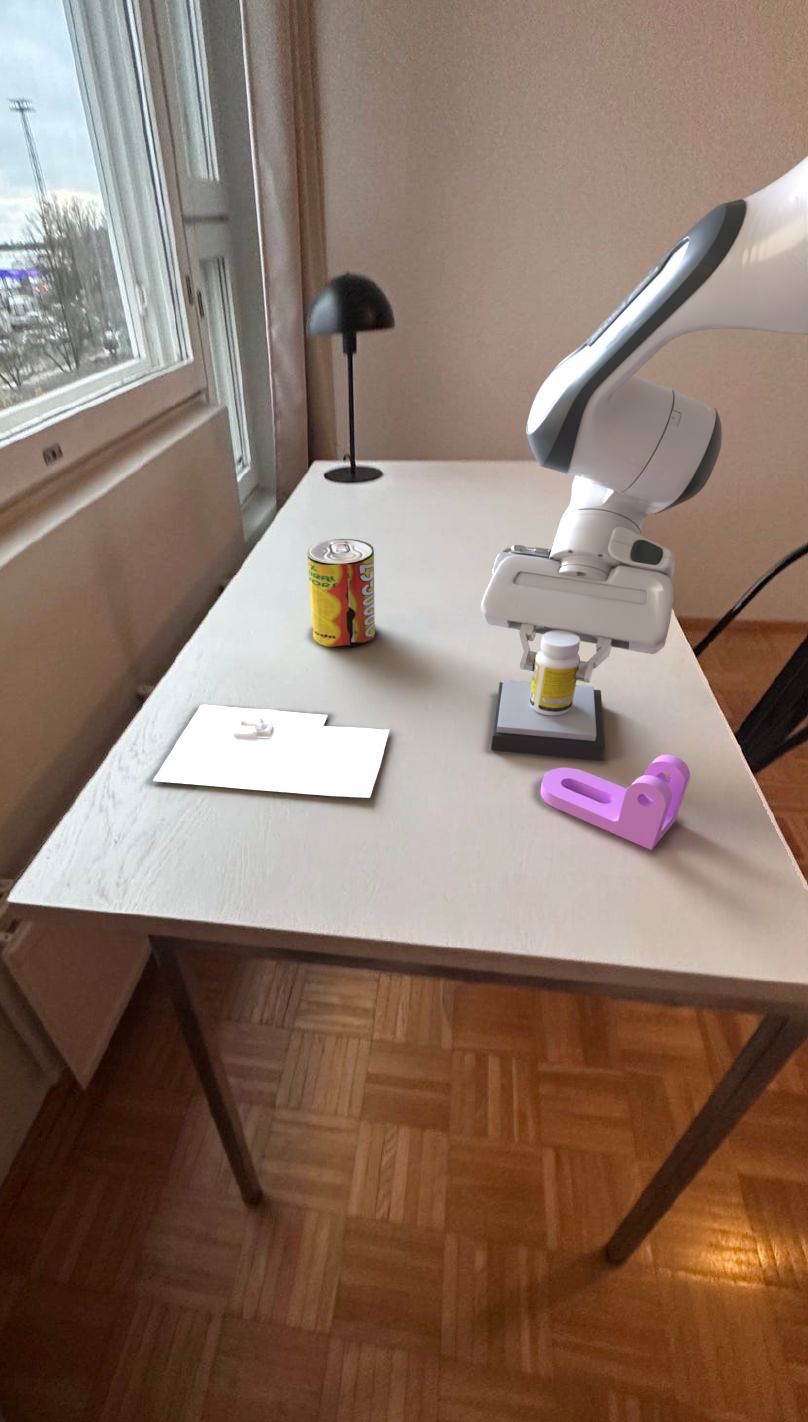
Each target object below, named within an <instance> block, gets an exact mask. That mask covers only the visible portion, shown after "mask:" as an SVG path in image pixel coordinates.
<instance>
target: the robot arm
mask: <svg viewBox="0 0 808 1422" xmlns="http://www.w3.org/2000/svg"><path fill="white" fill-rule="evenodd" d="M722 329H723V330H727V329H729V330H732V329H733V330H751V331H752V330H753V331H765V332H772V333H780V334H786V335H794V336H795V335H796V336H808V155H807V156H806V157H805V158H804V159H802V160H801V161H800V162H799V163H798V164H796V165H795V166H794V167H793V168H791V169H790V170H789V171H787V172H786V173H785V174H783V175H782V176H781V177H779V178H777V179H776V180H775V181H773V182H772V183H770V184H768V185H767V186H765V187H763V188H761V189H760V190H758V191H756V192H754V193H752V194H751V195H749V196H746V197H745V198H744V197H743V198H741V199H740V198H739V199H736V200H732V201H728V202H725V203H724V202H723V203H720V204H718V205H717V206H715V207H714V208H713V209H711V210H709V212H708V213H707V214H705V215H704V216H703V217H702V218H701V219H699V220H698V221H697V222H696V223H695V224H694V225H693V226H692V227H691V228H690V229H689V230H688V231H687V232H685V234H684V235H682V237H681V238H680V239H679V240H678V241H677V242H676V243H675V244H674V245H673V246H672V247H671V248H670V249H669V250H668V251H667V252H666V253H665V254H664V255H663V257H662V258H661V259H660V260H659V261H658V262H657V263H656V264H655V265H654V266H653V267H652V268H651V270H650V271H649V272H648V273H646V275H645V276H644V277H643V278H642V279H641V280H640V281H639V282H638V284H637V285H636V286H635V287H634V288H633V289H632V290H631V292H630V293H629V294H628V295H626V297H625V298H624V299H623V300H622V301H621V302H620V304H619V305H617V307H616V308H615V309H614V310H613V311H612V312H611V313H610V315H608V316H607V317H606V319H605V320H604V321H603V322H602V323H601V324H600V325H599V326H598V328H597V329H596V330H595V331H594V332H593V333H592V334H591V335H590V336H589V337H588V338H587V340H585V341H584V342H583V343H582V344H581V345H580V346H578V348H576V349H575V350H574V351H572V352H571V353H570V354H569V355H568V356H566V357H565V358H563V360H561V361H560V362H559V363H558V364H557V365H556V366H555V367H554V369H553V370H552V371H551V373H550V374H549V375H548V377H546V379H545V380H544V382H543V383H542V384H541V386H540V388H539V389H538V392H537V393H536V395H535V397H534V400H533V403H532V405H531V408H530V411H529V415H528V418H527V422H526V426H525V434H526V438H527V441H528V444H529V446H530V449H531V451H532V454H533V457H534V458H535V460H536V461H537V463H538V465H539V466H540V468H541V467H542V468H545V469H548V470H552V471H554V472H559V473H561V474H565V475H569V474H570V475H573V476H574V477H573V481H572V484H571V497H570V502H569V504H568V506H567V508H566V509H565V511H564V512H563V514H562V516H561V518H560V522H559V525H558V528H557V531H556V534H555V537H554V540H553V544H552V547H551V548H544V547H530V546H525V545H522V544H514V545H513V544H512V546H511V547H507V548H505V549H503V550H501V551H500V552H499V553H498V554H497V555H496V558H495V561H494V565H493V568H492V571H491V572H492V577H491V579H490V581H489V584H488V586H487V587H486V590H485V593H484V595H483V598H482V599H481V604H480V611H481V614H482V616H483V618H484V620H485V622H486V623H487V624H488V625H490V626H494V627H500V628H506V629H511V630H517V631H519V632H518V634H519V635H518V636H519V639H520V642H521V646H522V650H523V652H522V655H521V658H520V662H519V667H520V670H524V671H528V672H534V666H535V658H536V655H537V653H538V651H537V652H536V651H532V650H531V647H530V644H529V642H534V641H535V638H536V635H538V634H539V635H542V636H543V635H544V634H545V633H547V632H550V631H555V630H564V631H569V632H572V633H575V634H576V635H578V636H579V638H580V642H582V643H589V644H593V645H595V652H596V653H594V654H593V656H591V657H590V658H589V659H588V660H587V661H585V660H580V662H579V665H578V670H577V671H576V675H575V678H576V680H577V681H578V682H583V683H587V684H588V683H590V682H591V679H592V677H593V673H594V670H595V669H597V667H598V666H600V665H601V664H602V663H603V662H605V660H606V659H608V657H609V656H610V654H611V651H612V648H615V649H621V650H626V651H632V652H638V653H643V654H649V655H656V654H657V653H658V652H660V651H661V650H662V649H664V648H665V644H666V642H667V638H668V634H669V628H670V625H671V618H672V611H673V603H674V585H673V582H672V581H673V579H674V575H675V569H676V559H675V558H676V557H675V553H674V551H673V550H672V549H670V548H668V547H666V546H664V545H662V544H660V543H657V542H656V541H652V540H651V539H649V538H647V537H644V536H643V535H642V530H643V525H644V524H643V523H644V520H645V519H646V518H647V516H648V515H650V514H654V515H656V514H659V513H663V512H665V511H668V510H669V509H672V508H674V507H676V506H678V505H680V504H683V503H685V502H686V501H689V500H691V499H692V498H694V497H695V496H696V495H697V494H698V493H700V492H701V491H702V490H703V489H704V487H705V485H706V484H707V483H708V482H709V479H710V477H711V476H712V473H713V470H714V468H715V466H716V463H717V461H718V458H719V455H720V452H721V448H722V443H723V441H722V440H723V431H722V430H723V429H722V422H721V418H720V415H719V412H718V410H717V408H715V407H712V406H711V405H710V404H708V403H706V402H704V401H702V400H700V399H698V398H696V397H694V396H691V395H689V394H686V393H684V392H682V391H679V390H677V389H674V388H672V387H667V386H665V385H662V384H660V383H657V382H656V381H653V380H650V379H649V378H645V377H644V376H641V375H639V374H636V373H637V372H638V371H639V370H640V369H641V368H642V367H643V366H644V365H645V364H646V363H648V362H649V361H650V360H651V359H652V358H653V357H654V356H655V355H656V354H657V353H658V352H659V351H660V350H661V349H662V348H663V347H664V346H666V345H667V344H668V343H670V342H671V341H673V340H675V339H676V338H679V337H680V336H683V335H687V334H690V333H694V332H699V331H707V330H722Z"/></svg>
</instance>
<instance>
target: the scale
mask: <svg viewBox="0 0 808 1422" xmlns="http://www.w3.org/2000/svg"><path fill="white" fill-rule="evenodd" d="M531 687H532V681H527V680H514V679H502V682H499V684H498V692H497V698H496V707H495V715H494V722H493V730H492V736H491V746H490V751H494V752H504V753H505V752H506V753H515V754H526V755H538V756H548V757H558V758H568V759H569V758H570V759H577V760H579V759H580V760H589V761H602V760H603V756H604V752H605V747H606V745H605V728H604V716H603V714H604V713H603V700H602V690H601V689H595V687H594V685H593V686H592V685H579V684H576V686H575V691H574V697H573V703H572V706H571V709H570V710H569V711H568V712H566V713H564V714H562V715H556V716H550V715H544V714H541V713H539V712H537V711H535V710H533V709H532V708H531V706H530V703H529V701H530V694H531Z"/></svg>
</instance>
